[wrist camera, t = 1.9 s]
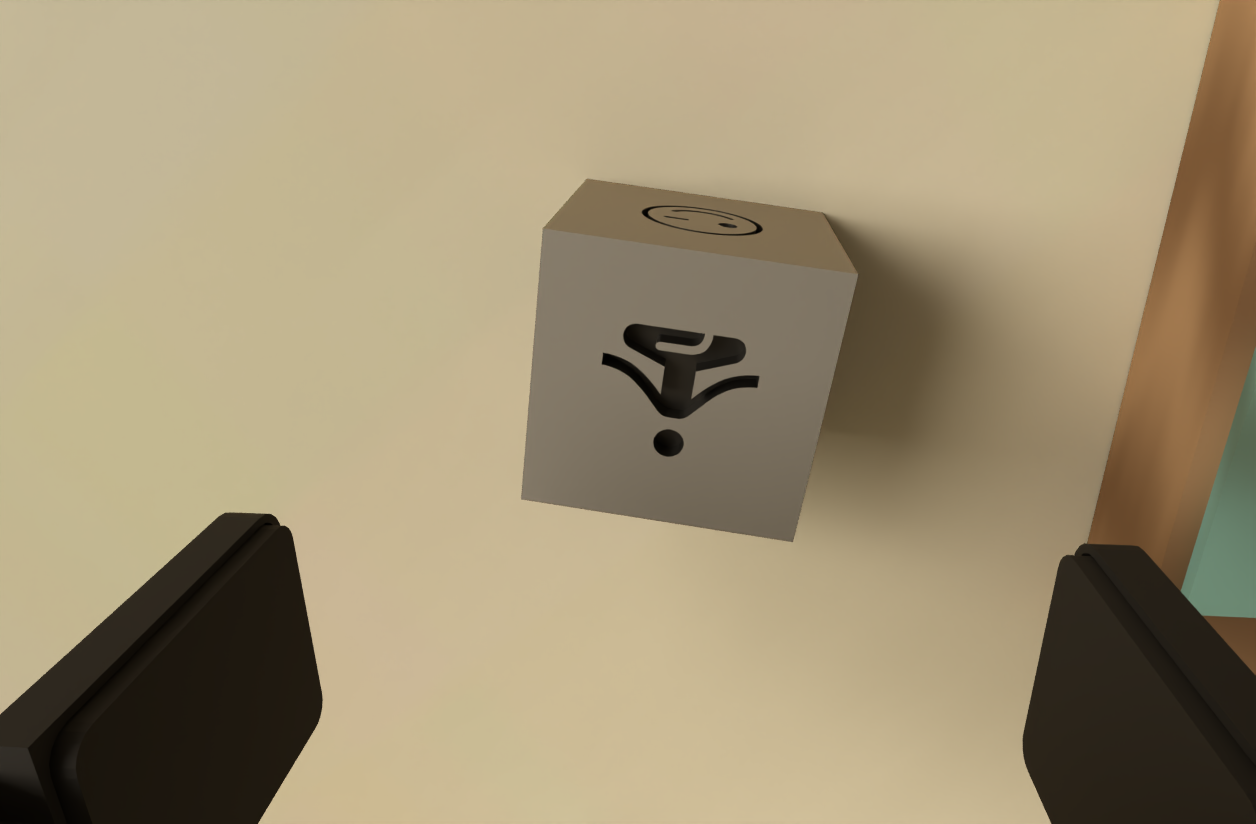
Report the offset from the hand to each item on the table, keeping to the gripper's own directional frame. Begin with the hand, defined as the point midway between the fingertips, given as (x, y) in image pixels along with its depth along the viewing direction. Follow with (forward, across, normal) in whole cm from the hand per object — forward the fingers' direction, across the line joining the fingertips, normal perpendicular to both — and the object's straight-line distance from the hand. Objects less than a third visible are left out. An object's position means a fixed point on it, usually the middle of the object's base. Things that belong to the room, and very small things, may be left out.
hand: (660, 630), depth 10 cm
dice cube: (+10, 0, -1) cm, 10 cm away
